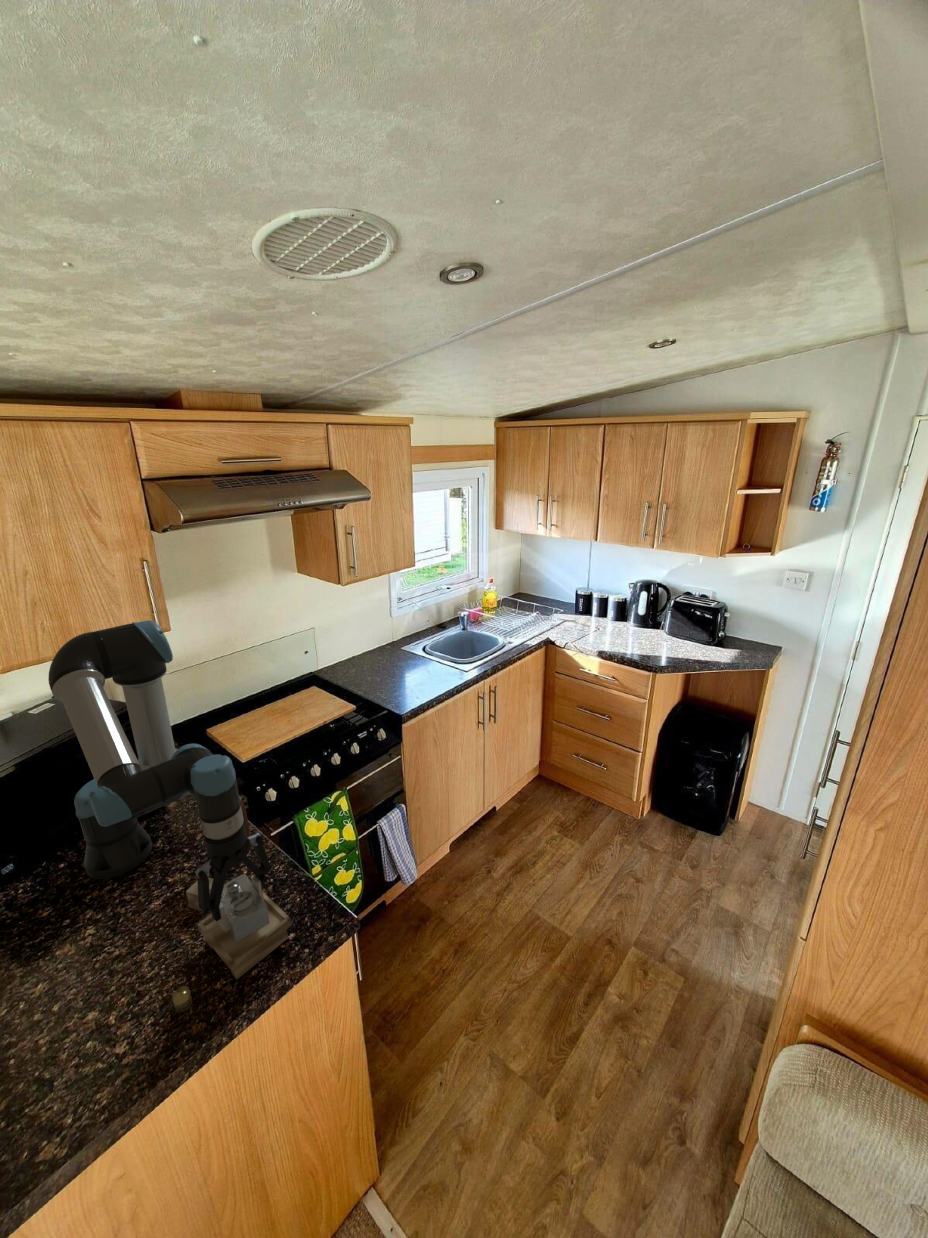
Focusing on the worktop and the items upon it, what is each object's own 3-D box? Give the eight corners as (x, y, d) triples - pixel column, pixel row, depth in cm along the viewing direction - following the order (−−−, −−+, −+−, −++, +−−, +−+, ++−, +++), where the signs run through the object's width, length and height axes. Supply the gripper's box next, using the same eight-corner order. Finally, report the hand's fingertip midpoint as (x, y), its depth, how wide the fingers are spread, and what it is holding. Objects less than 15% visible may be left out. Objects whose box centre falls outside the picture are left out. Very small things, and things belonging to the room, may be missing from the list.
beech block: (189, 907, 121) (185, 891, 119) (206, 891, 125) (202, 875, 124) (206, 913, 119) (202, 896, 118) (222, 896, 124) (218, 880, 122)
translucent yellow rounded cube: (172, 1006, 99) (169, 995, 98) (188, 993, 101) (185, 983, 100) (179, 1016, 97) (176, 1005, 96) (195, 1003, 99) (192, 992, 99)
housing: (216, 908, 112) (211, 887, 110) (248, 890, 116) (244, 869, 114) (236, 944, 103) (231, 922, 101) (269, 923, 108) (265, 901, 106)
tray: (201, 943, 112) (197, 923, 110) (258, 903, 122) (254, 884, 120) (235, 985, 103) (230, 965, 101) (293, 938, 112) (290, 918, 111)
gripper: (180, 868, 93) (203, 959, 100) (279, 809, 108) (293, 892, 115) (163, 849, 97) (186, 938, 104) (261, 795, 112) (275, 876, 119)
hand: (242, 914), depth 110 cm, fingers closed on housing, 7 cm apart
